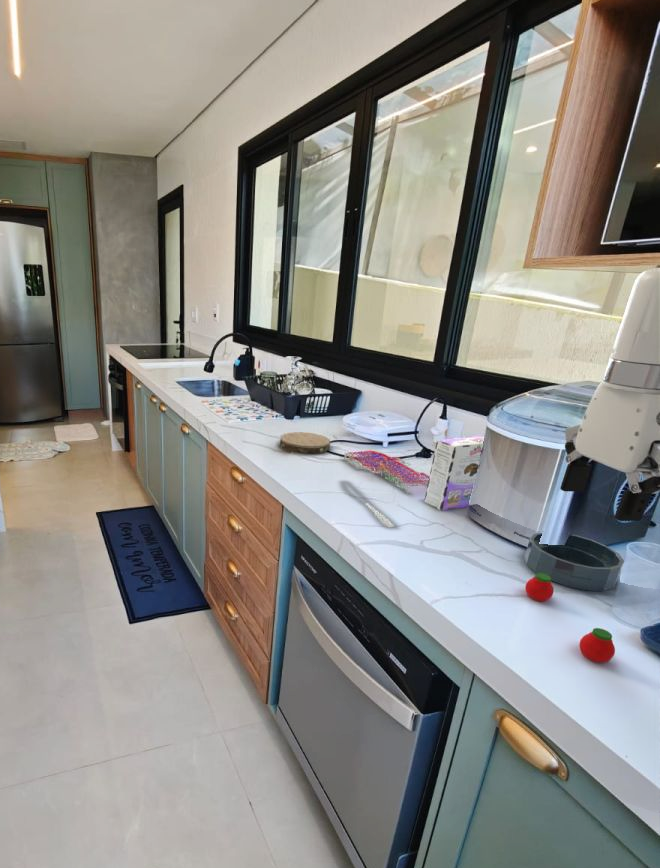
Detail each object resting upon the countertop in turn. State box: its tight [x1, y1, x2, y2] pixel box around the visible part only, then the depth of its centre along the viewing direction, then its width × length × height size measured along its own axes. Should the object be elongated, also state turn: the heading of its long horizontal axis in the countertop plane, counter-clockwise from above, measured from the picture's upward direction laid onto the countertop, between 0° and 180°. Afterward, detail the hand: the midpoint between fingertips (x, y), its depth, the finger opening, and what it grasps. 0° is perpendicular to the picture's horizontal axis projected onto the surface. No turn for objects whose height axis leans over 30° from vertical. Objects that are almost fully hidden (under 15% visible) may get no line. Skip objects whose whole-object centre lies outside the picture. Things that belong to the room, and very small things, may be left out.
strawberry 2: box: [578, 627, 616, 663], centre depth 71 cm, size 4×4×4 cm
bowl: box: [523, 532, 625, 592], centre depth 94 cm, size 14×14×5 cm
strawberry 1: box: [524, 573, 555, 602], centre depth 85 cm, size 4×4×4 cm
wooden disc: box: [279, 431, 331, 455], centre depth 163 cm, size 16×16×3 cm
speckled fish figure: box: [343, 450, 430, 493], centre depth 140 cm, size 30×15×5 cm, turn 13°
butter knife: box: [364, 502, 395, 528], centre depth 122 cm, size 1×27×3 cm
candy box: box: [424, 435, 485, 511], centre depth 120 cm, size 14×6×16 cm, turn 111°
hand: (597, 504), depth 68 cm, fingers open, 9 cm apart
